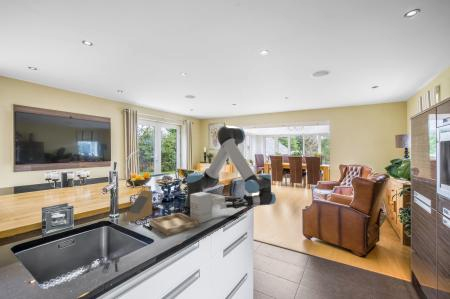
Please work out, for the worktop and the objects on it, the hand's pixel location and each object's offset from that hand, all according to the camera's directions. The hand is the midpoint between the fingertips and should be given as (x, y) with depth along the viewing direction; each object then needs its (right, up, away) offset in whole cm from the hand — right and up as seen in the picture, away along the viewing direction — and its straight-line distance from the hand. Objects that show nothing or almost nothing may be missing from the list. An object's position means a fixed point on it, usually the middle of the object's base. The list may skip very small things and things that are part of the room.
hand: (217, 203), depth 122 cm
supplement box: (-9, -9, -3) cm, 13 cm away
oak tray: (-23, -9, -12) cm, 27 cm away
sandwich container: (-49, -10, +5) cm, 50 cm away
